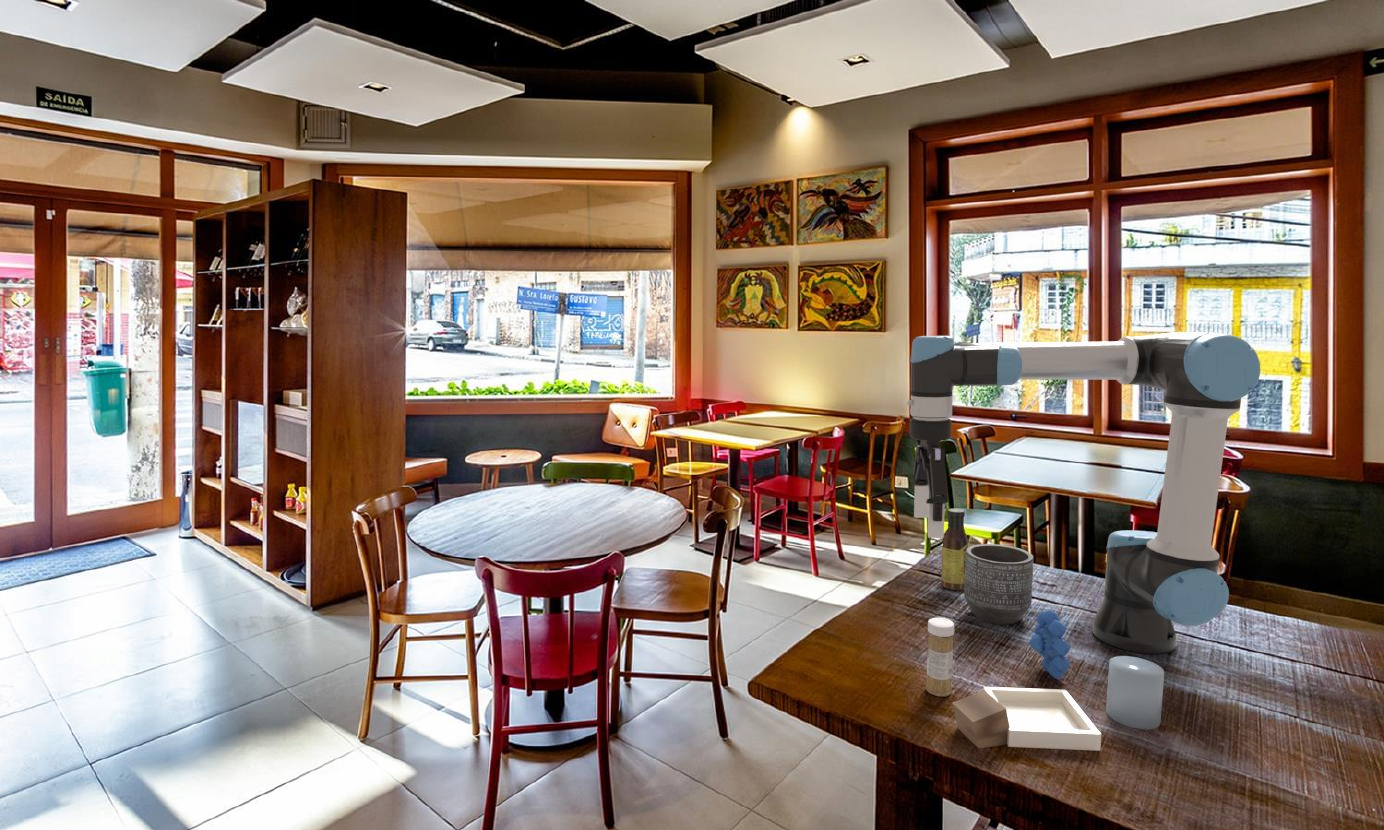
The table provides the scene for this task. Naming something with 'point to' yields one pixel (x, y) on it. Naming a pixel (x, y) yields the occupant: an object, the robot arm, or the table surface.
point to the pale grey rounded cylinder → (1135, 692)
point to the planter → (998, 582)
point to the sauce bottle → (954, 551)
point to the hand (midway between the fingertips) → (928, 526)
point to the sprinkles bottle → (940, 656)
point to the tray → (1045, 719)
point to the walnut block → (982, 720)
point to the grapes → (1051, 643)
